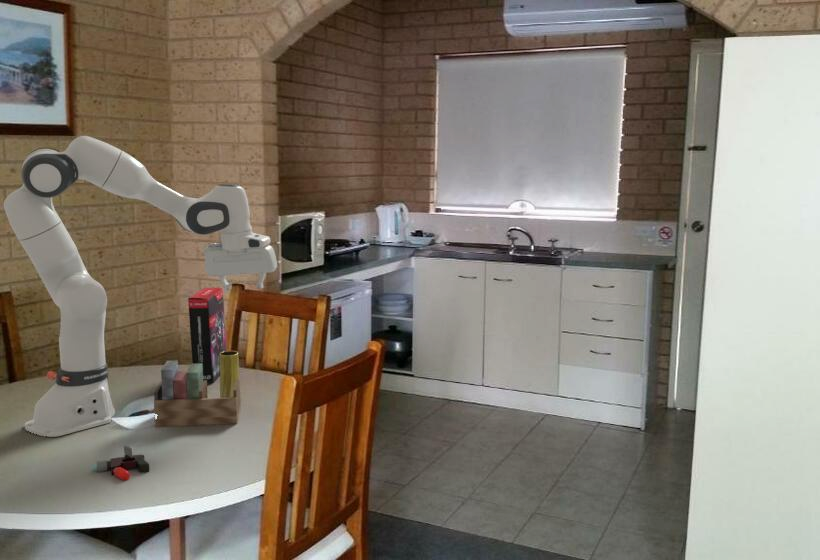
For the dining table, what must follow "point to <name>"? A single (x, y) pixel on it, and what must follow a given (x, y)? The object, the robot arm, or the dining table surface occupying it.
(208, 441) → the dining table surface
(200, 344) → the graphics card box
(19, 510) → the dining table surface
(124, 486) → the dining table surface
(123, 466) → the toy gun
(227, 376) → the vase
